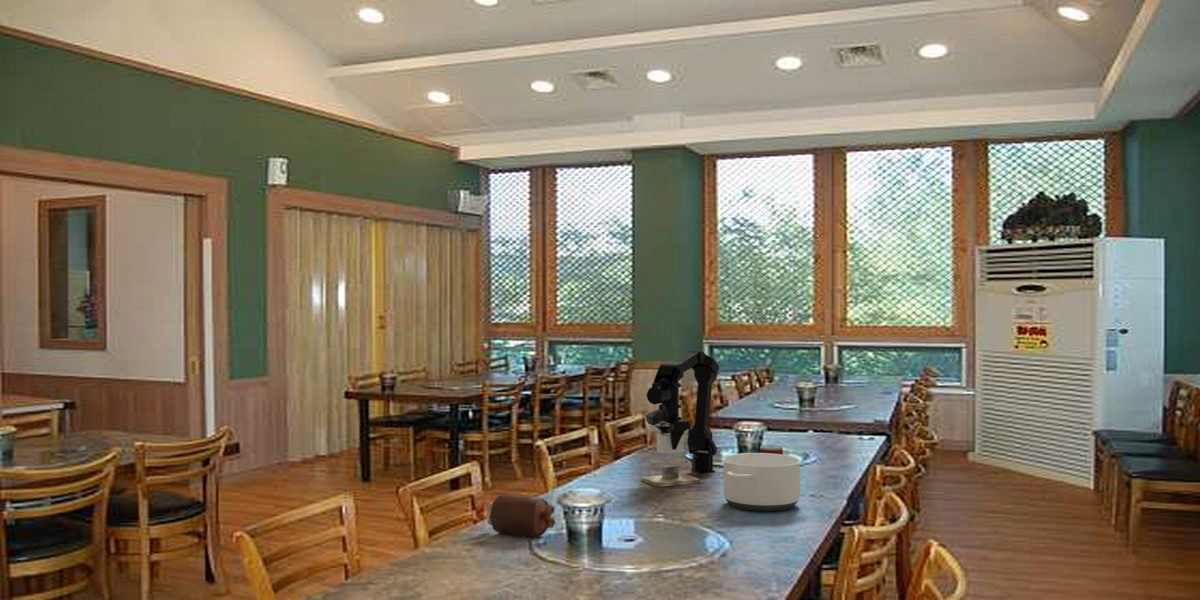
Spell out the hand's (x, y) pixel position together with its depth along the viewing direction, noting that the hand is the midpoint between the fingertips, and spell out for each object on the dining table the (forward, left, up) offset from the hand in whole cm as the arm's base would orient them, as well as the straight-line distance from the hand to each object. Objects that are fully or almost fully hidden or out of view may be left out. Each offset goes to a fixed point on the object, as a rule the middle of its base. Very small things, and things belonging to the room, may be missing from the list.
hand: (670, 448), depth 314 cm
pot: (-8, +43, -11) cm, 45 cm away
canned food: (-33, +10, -11) cm, 36 cm away
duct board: (0, 0, -11) cm, 11 cm away
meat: (+68, +48, -11) cm, 84 cm away
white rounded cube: (0, 0, -1) cm, 1 cm away
